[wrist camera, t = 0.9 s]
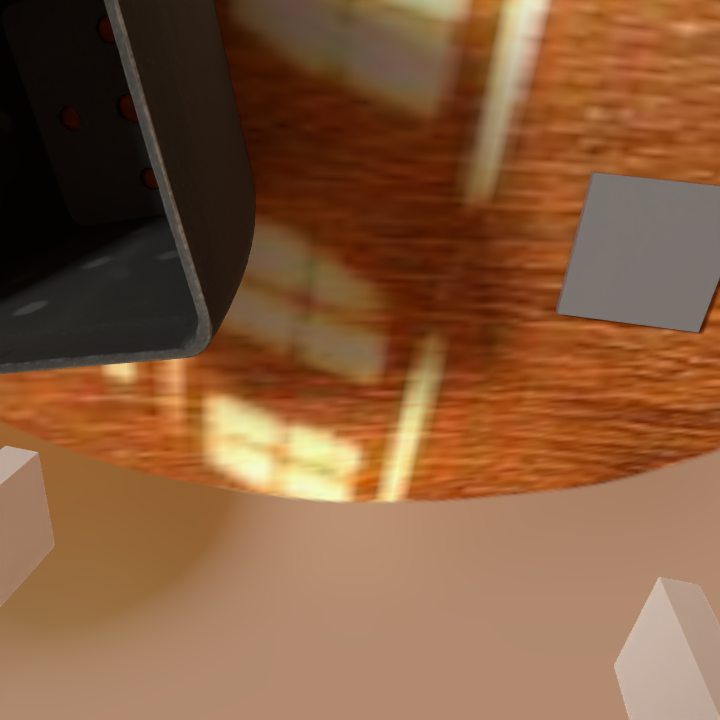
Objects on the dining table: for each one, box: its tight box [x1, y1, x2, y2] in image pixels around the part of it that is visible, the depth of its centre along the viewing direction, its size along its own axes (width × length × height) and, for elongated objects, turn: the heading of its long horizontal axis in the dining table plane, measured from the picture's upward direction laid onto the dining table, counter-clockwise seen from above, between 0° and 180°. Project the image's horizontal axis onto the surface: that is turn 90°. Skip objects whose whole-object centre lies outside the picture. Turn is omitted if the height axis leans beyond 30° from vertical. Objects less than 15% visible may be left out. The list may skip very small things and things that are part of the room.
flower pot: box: [0, 0, 256, 374], centre depth 24 cm, size 19×19×17 cm
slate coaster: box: [556, 172, 720, 332], centre depth 31 cm, size 8×8×1 cm
